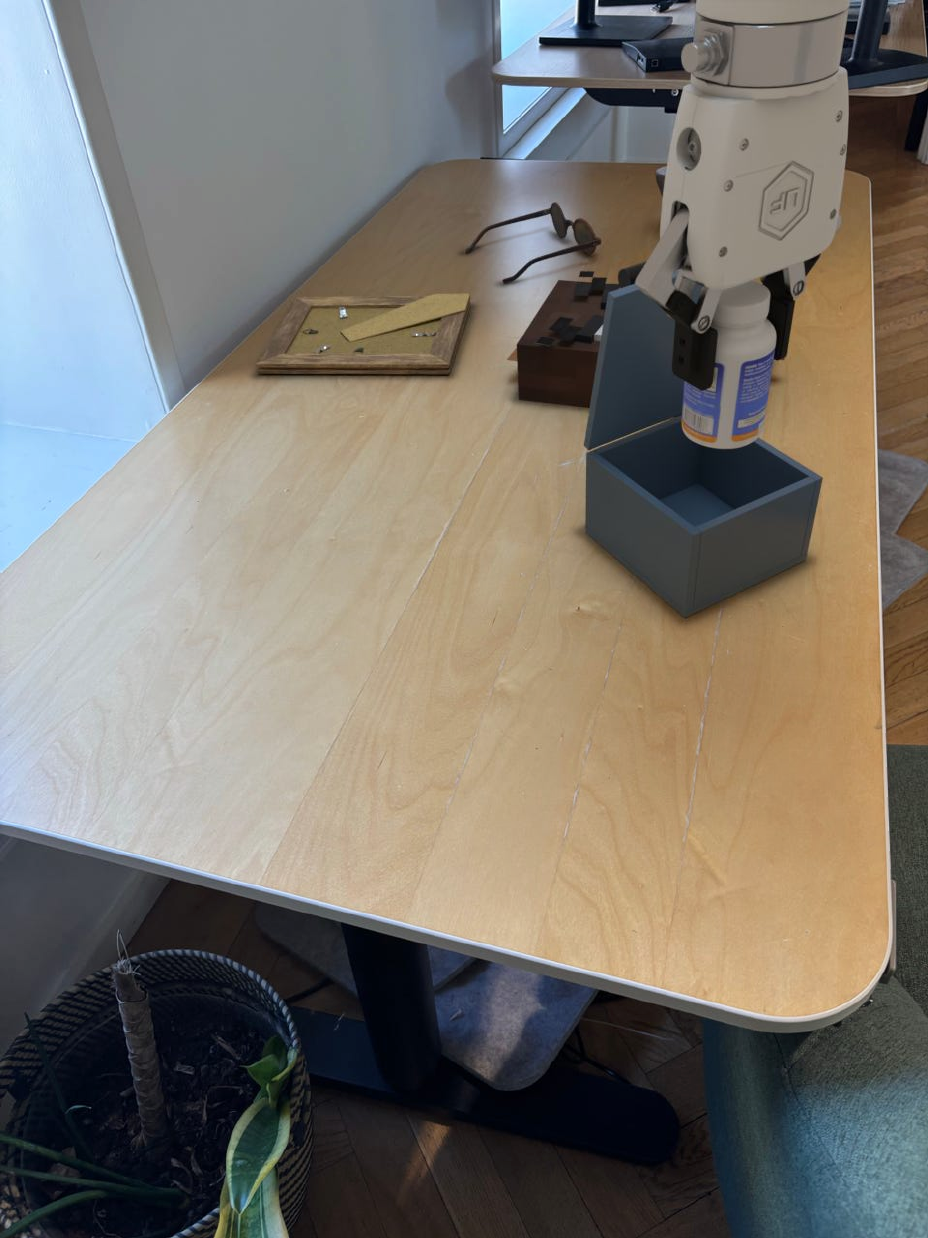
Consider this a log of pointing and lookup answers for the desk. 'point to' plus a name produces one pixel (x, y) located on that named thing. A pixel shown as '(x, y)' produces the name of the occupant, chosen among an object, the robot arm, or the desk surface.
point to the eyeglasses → (580, 228)
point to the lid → (633, 365)
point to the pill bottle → (735, 373)
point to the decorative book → (564, 343)
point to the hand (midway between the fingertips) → (729, 363)
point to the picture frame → (368, 335)
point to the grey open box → (698, 513)
